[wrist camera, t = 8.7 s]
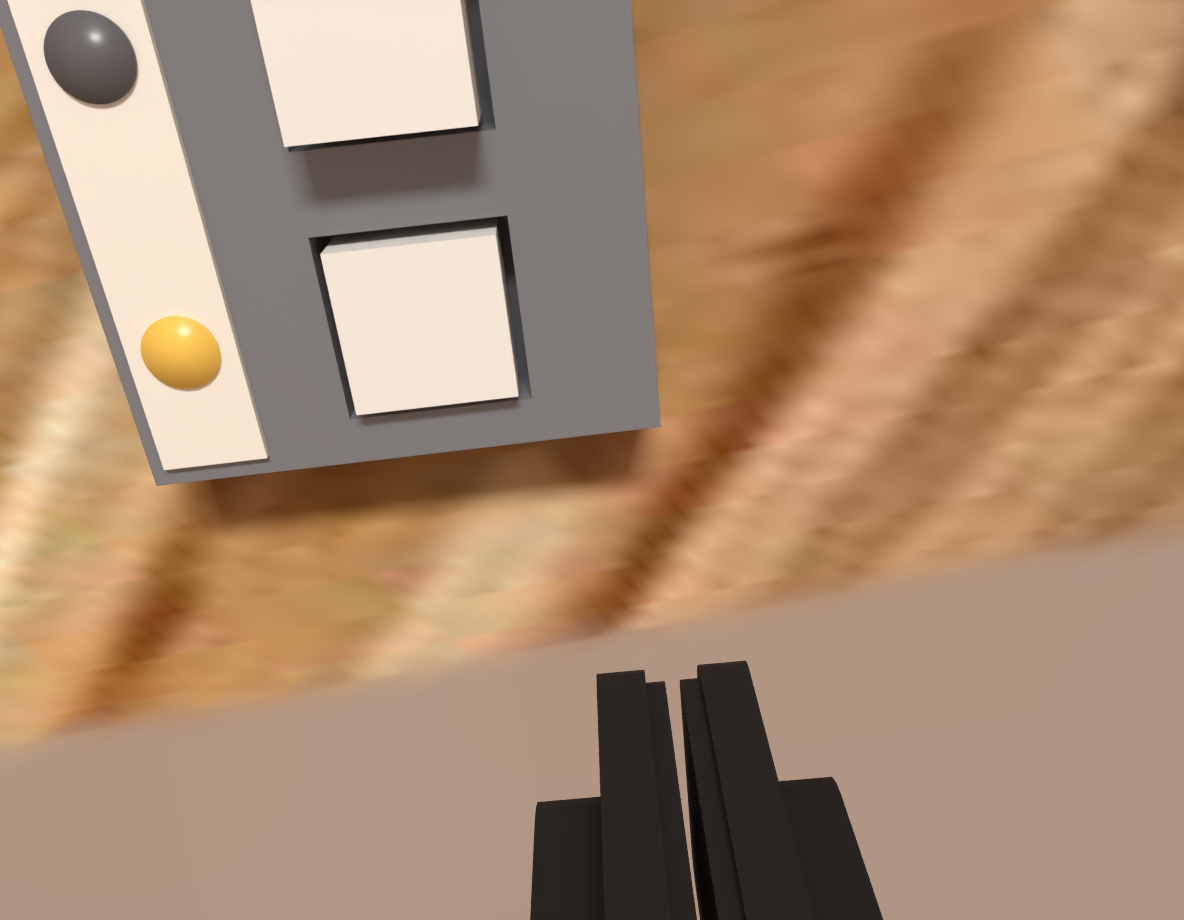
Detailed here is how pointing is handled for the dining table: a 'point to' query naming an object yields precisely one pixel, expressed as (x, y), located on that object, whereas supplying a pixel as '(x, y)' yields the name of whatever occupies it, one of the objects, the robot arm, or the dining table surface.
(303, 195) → the switch panel
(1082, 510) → the dining table surface
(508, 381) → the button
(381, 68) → the middle button
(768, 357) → the dining table surface
